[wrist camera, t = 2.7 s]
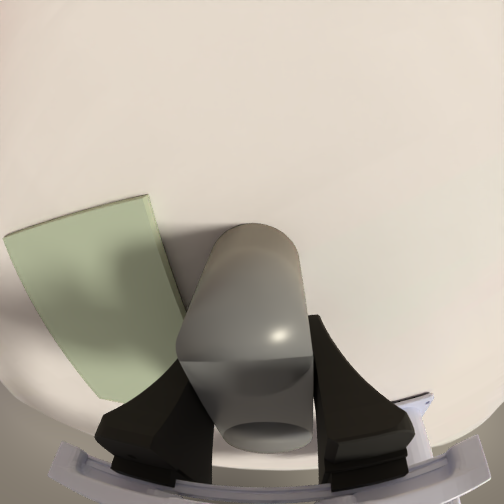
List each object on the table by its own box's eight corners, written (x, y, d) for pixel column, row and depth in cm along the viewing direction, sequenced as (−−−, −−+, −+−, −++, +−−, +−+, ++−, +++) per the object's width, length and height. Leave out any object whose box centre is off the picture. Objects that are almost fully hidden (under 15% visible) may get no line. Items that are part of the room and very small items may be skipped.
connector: (307, 392, 17) (311, 463, 12) (249, 395, 17) (242, 465, 12) (295, 218, 11) (310, 300, 6) (201, 229, 12) (155, 311, 7)
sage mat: (226, 407, 18) (225, 413, 18) (101, 393, 20) (99, 398, 19) (148, 194, 11) (142, 198, 11) (8, 234, 13) (2, 238, 12)
